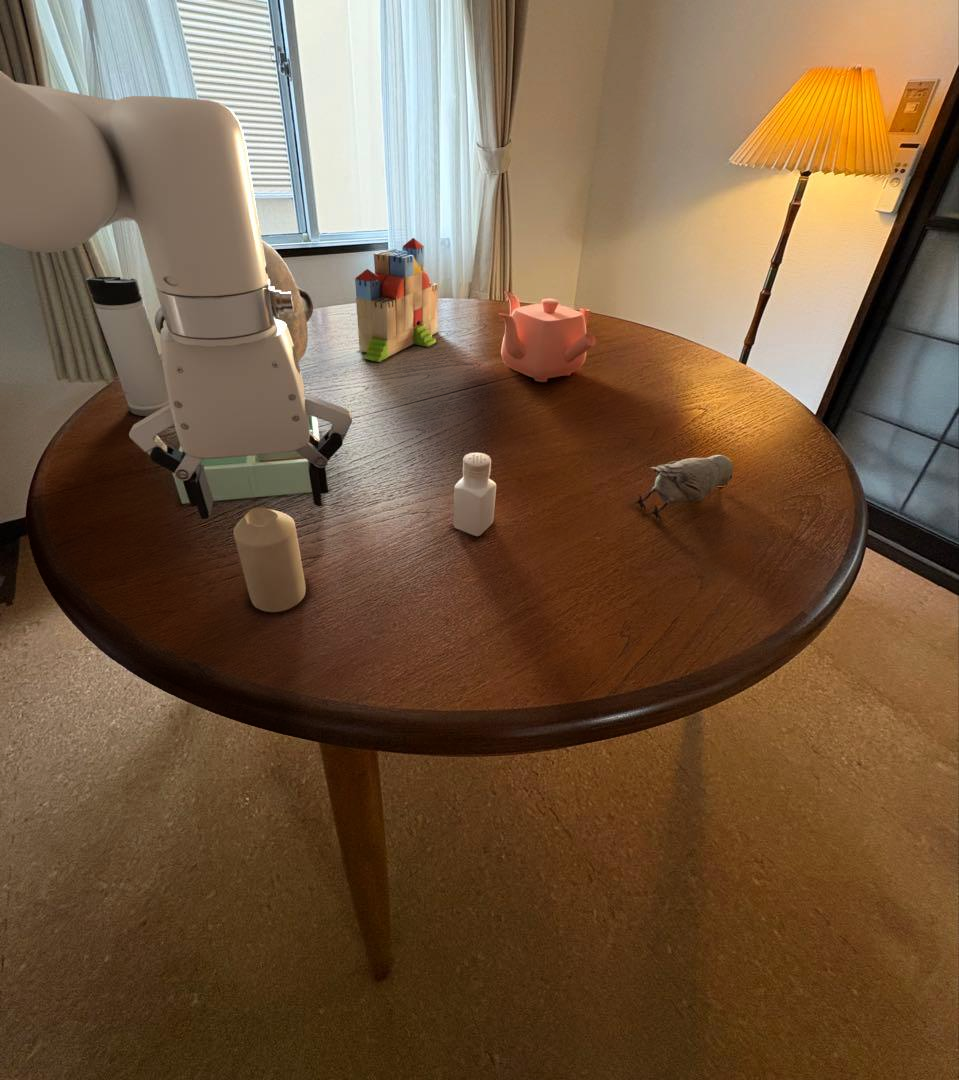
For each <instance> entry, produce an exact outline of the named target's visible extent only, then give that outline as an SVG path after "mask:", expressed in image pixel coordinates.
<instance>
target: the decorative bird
mask: <svg viewBox="0 0 959 1080" xmlns="http://www.w3.org/2000/svg"><path fill="white" fill-rule="evenodd" d="M649 469H653V470H652V471H653V473H656V475H657V476H656V477H655V481H654V486H653V487H652V488H651V489H650V490H649V492H648V493H647V495H646V496H645V497H644V498H643V497H642V495H641V494H638V496H639V498H638V500H637V501H635V502H634V503H633V504H634V505H636V504H638V505H639V506H640V508H639V510H640V511H641V510H642V508H643V509H644V512H647V511H646V510H647V509H646V505H645V504H644V501H646V500H648V498H649V497H650V496H651V495H652V494H653V493H657V494H658V496H659V497H660V498H661V500H662V501H663V502H665V503H664V504H663V505H662V506H661V507H660V508H658V506H657V505H656V504H654V507H655V508H654V510H653V511H652V512H650V513H649V515H654V516H655V521H658V519H659V520H660V522H662V517H661V515H660V512H662V511H663V510H664V509H665V508H666V507H667V505H670V504H683V502H684V503H689V501H690V502H694V503H700V502H702V501H704V500H706V498H707V497H708V496H709V495H710V494H711V493H712V492H713V491H714V490H715V488H717V489H718V490H722V489H724V488H725V487H717V486H724V485H726V486H727V485H728V484H729V482H730V481H731V480H732V478H733V475H734V464H733V462H732V461H731V459H730V458H729V457H727V455H723V454H714V455H711V456H708V457H689V458H685V459H684V458H683V459H681V460H673V461H670V462H668V463H666V464H663V465H658V466H652V467H651V466H650V467H649Z"/></svg>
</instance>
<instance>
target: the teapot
mask: <svg viewBox="0 0 959 1080" xmlns="http://www.w3.org/2000/svg"><path fill="white" fill-rule="evenodd" d="M504 294H505V296H506V297H507V299H508V302H509V314H508V313H500V312H499V313H498V316H500V317H501V318H502V320H503V322H504V335H503V339H502V344H501V349H500V350H501V351H500V354H501V358H502V361H503V363H504V365H505V366H507V367H508V368H509V369H510V368H511V369H512V370H513V371H515V372H518V373H521V375H522V374H523V375H525V376H527V377H529V378H532V379H534V381H535V382H539V383H546V382H548V380H549V379H551V378H558V377H568V376H570V375H571V374H572V373H574V372H577V371H578V370H580V369H581V367H582V366H583V365H584V363H585V361H586V358H587V351H589V350H590V349H592V348H593V347H594V346H595V345H597V338H596V337H595V335H594V334H593V333H592V332H587V324H588V321H589V317H590V316H591V313H592V310H591V309H588V308H579V310H576V309H574V308H571V307H567V306H565V305H561V304H560V301H559V300H557V299H554V298H543V299H541V303H533V304H528V305H523V306H521V304H520V302H519V299H518V296H517V295H515V293H513V292H511V291H508V290H504ZM576 370H577V371H576Z"/></svg>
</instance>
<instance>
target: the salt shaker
mask: <svg viewBox="0 0 959 1080" xmlns="http://www.w3.org/2000/svg"><path fill="white" fill-rule="evenodd" d="M491 468H492V459H491V457H490V455H488V454H486V453H484V452H483V453H482V452H469V453H467V454H465V455H464V457H463V458H462V475H463V476H462V478H460V479H459V480H458V481H457V483H456V484H455V485H454V488H453V490H454V491H453V510H452V511H453V512H452V525H453V527H454V529H457V530H459V531H462V532H464V533H466V534H468V535H471V536H474V537H479V536H481V535H483V533H484V532H485V531H487V529H488V528H489V527H490V526H492V524H493V523H494V518H495V517H494V515H495V504H496V495H497V494H496V493H497V484H496V482H495V481H494V480H493V479H491V478H490V476H491V470H492V469H491Z"/></svg>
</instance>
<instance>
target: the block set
mask: <svg viewBox="0 0 959 1080" xmlns="http://www.w3.org/2000/svg"><path fill="white" fill-rule="evenodd" d="M373 263H374V264H373V267H374V272H372V270H370V269H368V268H366V269H365V270H363V271H362V272H361V273H360V274H359V275H357V276H356V277H355V278H354V279H355V280H354V283H355V302H356V303H355V305H356V317H357V333H358V347H359V351H360V352H364V353H365V354H364V355H363V357H364V360H367V361H373V362H378V363H379V362H382V361H384V360H386V359H388V358H389V357H392V356H393V355H395V354H397V353H399V352H400V351H402V350H405V349H406V348H408V347H411V346H413V345H417V346H422V347H426V348H428V347H430V346H432V345H435V344H436V338H433V335H435V334H437V333H438V306H439V284H438V283H433V282H431V280H430V277H429V275H428V273H427V272H425V246H424V245H423V244H422V243H420V241H418V240H417V239H416V238H414V237H412V238H411V239H410V240H408V241H407V242H406V243H405V244H403V246H402V249H397V248H391V249H388V250H385V251H383V250H382V251H379V252H374V253H373Z"/></svg>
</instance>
